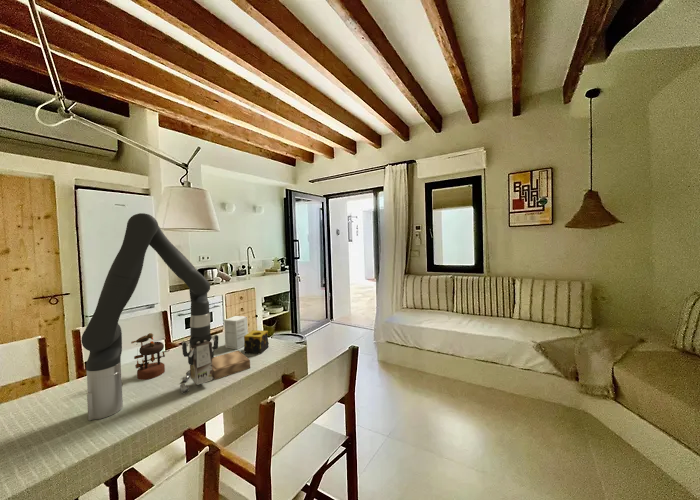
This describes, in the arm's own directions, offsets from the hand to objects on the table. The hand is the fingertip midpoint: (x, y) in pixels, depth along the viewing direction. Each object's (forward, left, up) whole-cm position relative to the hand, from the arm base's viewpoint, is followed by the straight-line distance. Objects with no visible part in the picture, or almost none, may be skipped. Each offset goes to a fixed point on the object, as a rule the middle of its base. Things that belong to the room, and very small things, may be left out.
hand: (201, 362), depth 115 cm
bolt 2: (-7, +1, -10) cm, 12 cm away
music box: (-15, +28, -10) cm, 33 cm away
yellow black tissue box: (+32, +20, -10) cm, 39 cm away
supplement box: (+26, +35, -10) cm, 45 cm away
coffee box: (0, 0, -8) cm, 8 cm away
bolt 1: (-4, +10, -10) cm, 14 cm away
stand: (+13, +9, -10) cm, 19 cm away
